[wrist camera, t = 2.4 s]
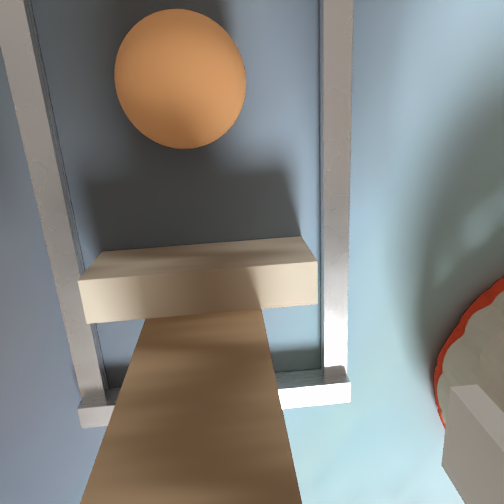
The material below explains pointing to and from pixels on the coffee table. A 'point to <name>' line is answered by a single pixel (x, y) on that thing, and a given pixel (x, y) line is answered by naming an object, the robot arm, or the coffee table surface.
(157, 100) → the ball
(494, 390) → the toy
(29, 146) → the rails
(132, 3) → the coffee table surface
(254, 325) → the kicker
